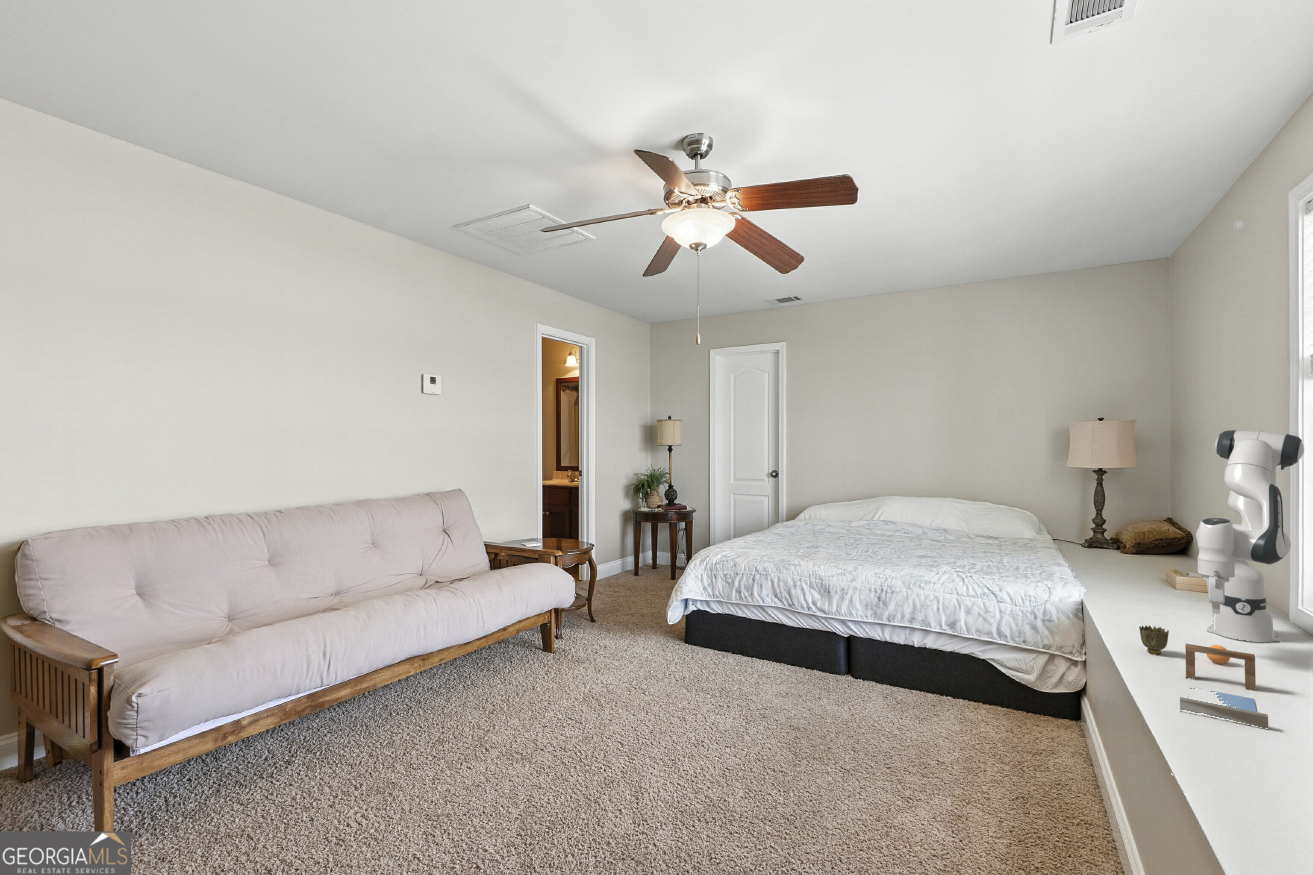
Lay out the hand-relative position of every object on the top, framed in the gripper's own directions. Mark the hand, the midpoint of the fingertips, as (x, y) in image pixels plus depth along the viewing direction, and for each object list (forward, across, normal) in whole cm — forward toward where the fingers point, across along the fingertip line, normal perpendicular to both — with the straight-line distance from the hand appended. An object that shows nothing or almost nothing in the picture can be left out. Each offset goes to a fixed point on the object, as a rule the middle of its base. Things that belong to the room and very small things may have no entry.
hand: (1215, 612), depth 198 cm
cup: (+14, -10, +15) cm, 23 cm away
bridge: (+14, -29, 0) cm, 32 cm away
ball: (+11, -9, 0) cm, 14 cm away
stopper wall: (+15, -59, 0) cm, 61 cm away
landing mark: (+14, -45, 0) cm, 47 cm away
